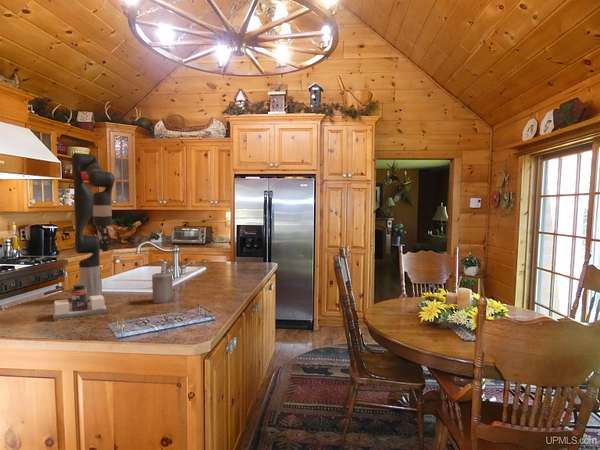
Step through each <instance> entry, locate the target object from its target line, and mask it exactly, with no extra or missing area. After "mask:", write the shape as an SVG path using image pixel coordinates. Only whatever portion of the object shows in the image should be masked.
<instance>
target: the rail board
mask: <svg viewBox="0 0 600 450" xmlns="http://www.w3.org/2000/svg"><path fill="white" fill-rule="evenodd" d="M69 302H70V301H69V299H68V298H67V299H60V300H54V311H52V317H53V318H52V320H58V319H64V318H71V317H77V316H85V315H92V316H94V315H93V314H99V315H102V314H101V313H105V314H108V309H107V307H106V305H105V297H104V296H103V294H102V295H97V296H90V301H89V306H88V307H87V309H85V310H82V311H73V310H72V308H70V303H69Z"/></svg>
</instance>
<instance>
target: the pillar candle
mask: <svg viewBox="0 0 600 450" xmlns="http://www.w3.org/2000/svg"><path fill="white" fill-rule="evenodd" d="M151 284H152V302H153V303H155V304H162V303H163V304H166V303H170V302H172V301H173V299H174V293H173V292H174V291H173V290H174V289H173V273H172V272H164V271H162V272H157V273H153V274H152V275H151Z"/></svg>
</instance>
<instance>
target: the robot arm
mask: <svg viewBox="0 0 600 450" xmlns="http://www.w3.org/2000/svg"><path fill="white" fill-rule="evenodd" d="M71 168H72V169H71V170H72V178H73V206H74V207H73V209H74V222H75V230H74V235H75V236H74V248H75V252H76V253H77V255H78V254H91V255H90V256H88V257H86V258H84V259H81V260H80V261H79V262H78V272H79V273H78V274H79V276H78V277H79V284H84V288H85V289H86V290H87V300H90V296H97V295H102V296H103V285H102V284H103V283H102V279H101V269H100V268H101V263H100V259H101V258H100V252H108V250H109V249H108V243H109V242H110V241H109V228H107V227H109V226H112V225H113V218H112V217H113V213H112V210H113V209H112V199H111V197H112V192H113V187H114V185H115V175H114V173H112V172H110V171H105V170H104V169H103V168H102V167H101V166H100V162H99V161H98V158H97V157H96V156H95V155H94V154H91V153H82V152H74V153H73V154H72V155H71ZM81 172H85V173H86V176H87V177H88V184H89V185H90V186H91V187H95V188H104V190H103V191H99V192H95V193H93V191H92V190H91V189H90V187H88V185H87V184H86V183H85V180H84V178H83V176H82V173H81ZM91 218H93V220H92V221H93V222H92V223H93V226H95V227H97V234H85V235H83V234H84V233H83V232H84V229H85V227H86V225H87V223H88V222H89V221H90V219H91ZM100 250H101V251H100Z"/></svg>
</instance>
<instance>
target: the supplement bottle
mask: <svg viewBox="0 0 600 450" xmlns="http://www.w3.org/2000/svg"><path fill="white" fill-rule="evenodd" d="M87 307H88V301H87V290H86V289H85V288H84V284H80V283H76V284H73V289H72V290H71V309H72V310H73V311H82V310H85V309H87Z"/></svg>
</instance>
